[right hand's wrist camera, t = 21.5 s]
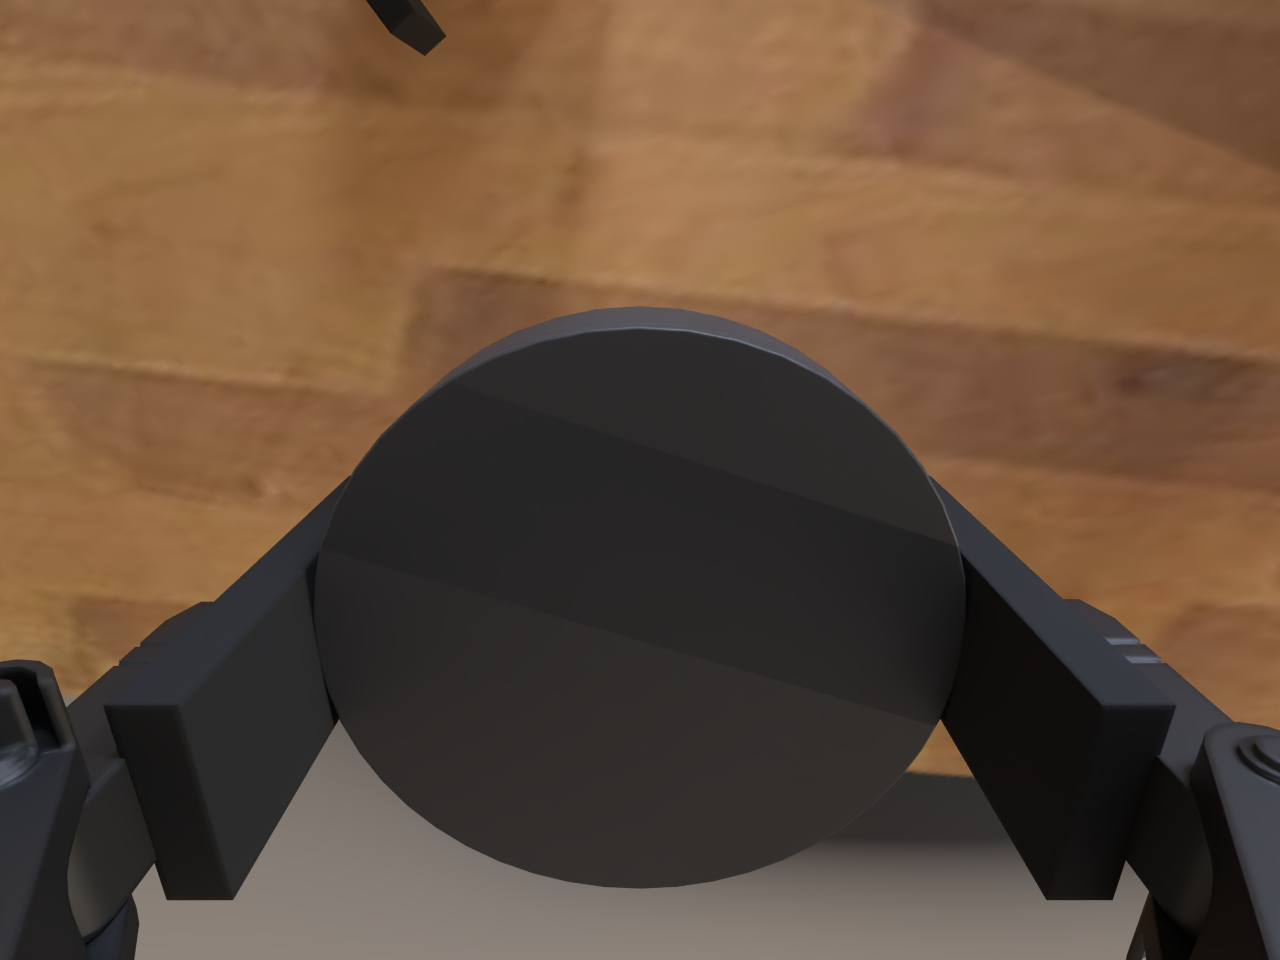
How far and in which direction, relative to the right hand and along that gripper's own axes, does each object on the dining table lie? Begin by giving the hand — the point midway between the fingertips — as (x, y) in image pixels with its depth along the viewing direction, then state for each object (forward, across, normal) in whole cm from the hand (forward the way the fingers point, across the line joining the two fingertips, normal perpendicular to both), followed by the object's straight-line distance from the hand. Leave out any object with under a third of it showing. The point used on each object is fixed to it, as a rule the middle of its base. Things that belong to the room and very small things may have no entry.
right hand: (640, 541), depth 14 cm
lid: (-3, 0, 0) cm, 3 cm away
